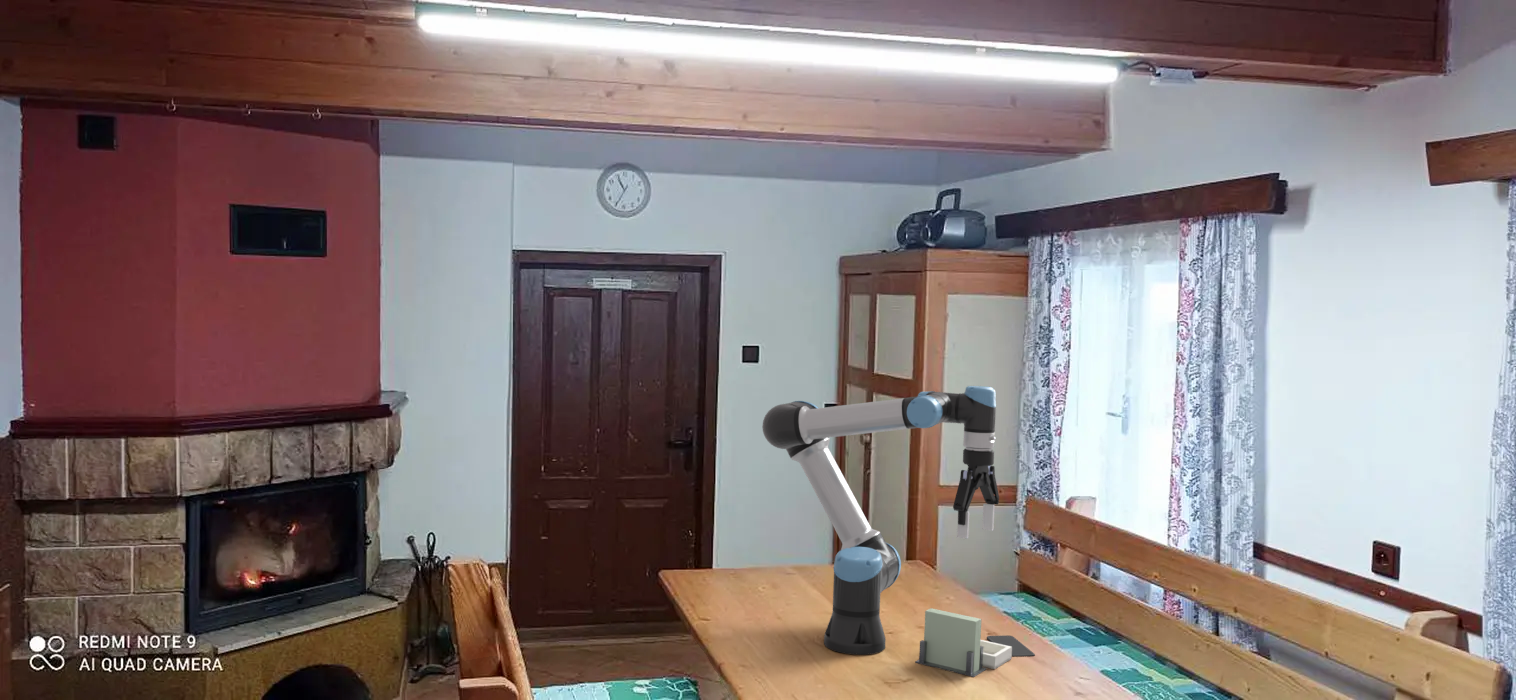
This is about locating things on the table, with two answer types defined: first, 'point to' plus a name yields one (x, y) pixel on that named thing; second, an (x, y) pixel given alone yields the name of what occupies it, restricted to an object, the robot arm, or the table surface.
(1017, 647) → the smartphone
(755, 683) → the table surface
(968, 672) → the grey four-post stand
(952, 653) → the door panel
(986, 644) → the white divided tray
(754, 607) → the table surface
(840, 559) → the robot arm
